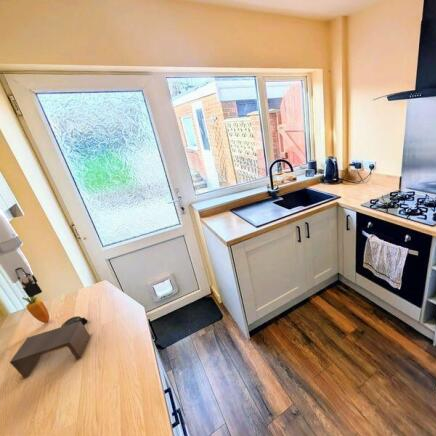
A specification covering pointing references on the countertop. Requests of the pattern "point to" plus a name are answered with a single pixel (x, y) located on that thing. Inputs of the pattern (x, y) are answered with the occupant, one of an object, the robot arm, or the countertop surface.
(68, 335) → the dark brown riser stand
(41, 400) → the countertop surface
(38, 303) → the carrot
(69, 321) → the tape measure
